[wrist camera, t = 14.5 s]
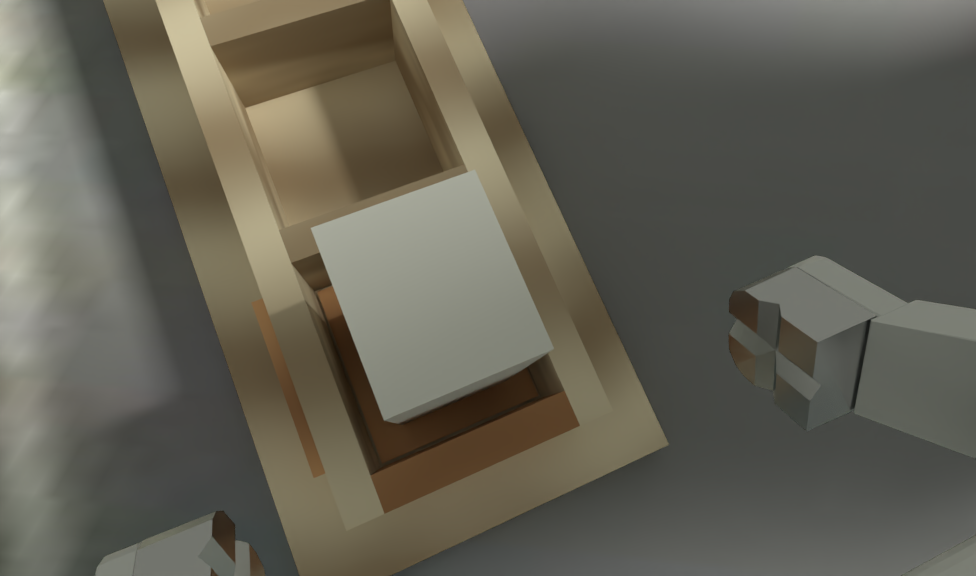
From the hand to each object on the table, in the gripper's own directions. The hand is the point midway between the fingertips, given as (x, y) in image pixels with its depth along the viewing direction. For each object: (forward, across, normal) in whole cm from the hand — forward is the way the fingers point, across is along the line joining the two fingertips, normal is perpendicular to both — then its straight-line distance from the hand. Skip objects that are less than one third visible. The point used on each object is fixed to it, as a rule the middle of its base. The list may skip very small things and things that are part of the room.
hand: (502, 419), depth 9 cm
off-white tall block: (+9, 0, +5) cm, 11 cm away
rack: (+15, 0, +1) cm, 15 cm away
